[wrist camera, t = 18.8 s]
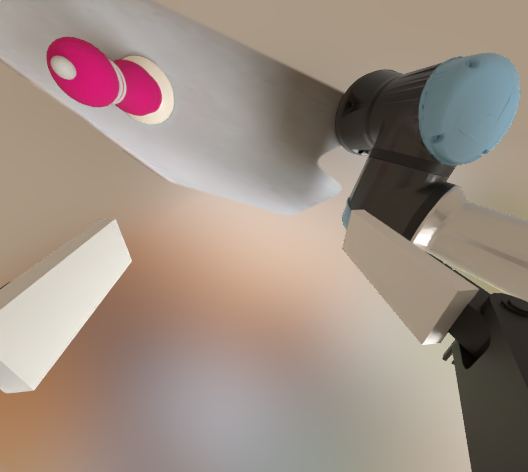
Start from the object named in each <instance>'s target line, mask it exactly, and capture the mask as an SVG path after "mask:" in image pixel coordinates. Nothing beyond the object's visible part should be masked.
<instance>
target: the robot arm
mask: <svg viewBox="0 0 528 472" xmlns="http://www.w3.org/2000/svg"><path fill="white" fill-rule="evenodd" d="M519 82H520V78H519V75H518V72H517V70H516V68H515V66H514V65H513V64H512V62H511V61H510V60H508V59H507V58H506V57H504V56H502V55H499V54H495V53H481V54H476V55H471V56H466V57H457V58H451V59H449V60H447V61H445V62H443V63H440V64H436V65H433V66H430V67H426V68H423V69H420V70H416V71H413V72H410V73H406V74H402V73H398V72H396V71H393V70H378V71H375V72H372V73H369V74H366V75H364V76H363V77H361V78H359V79H358V80H357V81H356V82H354V83H353V84H352V85H351V86H350V87H349V89H348V90H347V91H346V93H345V94H344V96H343V97H342V99H341V101H340V104H339V106H338V109H337V113H336V120H335V128H336V134H337V137H338V140H339V142H340V143H341V145H342V146H343V147H344V148H345V149H346V150H347V151H349V152H351V153H354V154H357V155H363V156H369V157H368V159H367V161H366V163H365V165H364V167H363V169H362V171H361V174H360V176H359V178H358V180H357V183H356V184H355V187H354V189H353V191H352V193H351V195H350V197H349V198H348V200H347V205H346V207H345V210H344V213H343V215H342V221H343V225H344V227H345V228H346V230H347V232H346V236H345V239H344V244H343V248H342V249H343V250H344V252H345V253H346V254H347V255H348V256H349V258H350V259H351V260H352V261H353V262H354V264H355V265H356V266H357V267H358V268H359V269H360V271H361V272H362V273H363V274H364V275H365V277H366V278H367V279H368V280H369V281H370V283H371V284H372V285H373V286H374V288H375V289H376V290H377V291H378V292H379V294H380V295H381V296H382V297H383V298H384V300H385V301H386V302H387V303H388V304H389V305H390V307H391V308H392V309H393V310H394V312H395V313H396V314H397V315H398V316H399V318H400V319H401V320H402V321H403V322H404V324H405V325H406V326H407V327H408V328H409V330H410V331H411V332H412V333H413V334H414V336H415V337H416V338H417V339H418V340H419V342H420V343H421V344H422V345H425V344H433V343H440V342H441V341H442V340H443V338H444V337H445V336H446V334H447V333H448V332H449V333H450V334H451V335H452V336H453V337H454V338H455V341H454V342H453V343H452V344H451V346H450V347H449V348H448V350H447V351H446V352H445V353H444V355H443V360H445V361H446V360H447V359H448V358H449V357H450V356H451V355H453V357H454V360H453V362H452V364H454V365H455V370H456V376H457V382H458V389H459V394H460V401H461V407H462V414H463V420H464V426H465V432H466V438H467V444H468V451H469V457H470V463H471V469H472V472H528V220H525V219H522V218H519V217H516V216H513V215H509V214H506V213H503V212H500V211H497V210H494V209H490V208H487V207H484V206H481V205H477V204H475V203H471V202H469V201H468V200H467V199H466V197H465V194H464V192H463V190H462V187H461V186H458V185H454V184H451V183H447V182H446V181H447V179H448V178H449V176H450V175H451V173H452V172H453V170H454V169H455V167H456V166H457V165H462V164H467V163H471V162H473V161H476V160H477V159H479V158H480V157H482V154H486V153H488V152H489V151H491V150H492V149H493V148H494V147H495V146H496V145H497V144H498V143H499V141H500V140H501V139H502V138H503V137H504V135H505V134H506V132H507V130H508V129H509V127H510V125H511V123H512V121H513V119H514V117H515V114H516V112H517V108H518V105H519V98H520V90H519ZM372 157H373V158H372ZM446 177H447V178H446ZM439 259H440V260H439ZM131 261H132V260H131V258H130V255H129V252H128V250H127V247H126V245H125V242H124V239H123V237H122V234H121V232H120V229H119V227H118V224H117V222H116V219H99V220H98V221H97V222H95V223H94V224H92V225H91V226H90V227H88V228H87V229H85V230H84V231H82V232H81V233H80V234H78V235H77V236H75V237H74V238H72V239H71V240H70V241H68V242H67V243H65V244H64V245H63V246H61V247H60V248H58V249H57V250H55V251H54V252H53V253H51V254H50V255H48V256H47V257H46V258H44V259H43V260H41V261H40V262H38V263H37V264H36V265H34V266H33V267H32V268H30V269H29V270H27V271H26V272H25V273H23V274H21V275H20V276H19V277H17V278H16V279H14V280H13V281H11V282H9V283H7V284H6V285H4V286H3V287H2V288H0V389H1V390H2V391H3V392H5V393H15V392H23V391H32V390H35V388H36V387H37V386H38V384H39V383H40V382H41V380H42V379H43V377H44V376H45V375H46V374H47V373H48V371H49V370H50V368H51V367H52V366H53V365H54V363H55V362H56V361H57V359H58V358H59V357H60V355H61V354H62V353H63V351H64V350H65V349H66V347H67V346H68V345H69V343H70V342H71V341H72V340H73V338H74V337H75V336H76V334H77V333H78V331H79V330H80V329H81V328H82V326H83V325H84V324H85V322H86V321H87V320H88V318H89V317H90V316H91V314H92V313H93V312H94V310H95V309H96V307H97V306H98V305H99V304H100V303H101V301H102V300H103V299H104V297H105V296H106V295H107V293H108V292H109V290H110V289H111V288H112V287H113V285H114V284H115V283H116V281H117V280H118V279H119V277H120V276H121V275H122V273H123V272H124V271H125V270H126V268H127V267H128V266H129V264H130V263H131ZM442 261H443V262H445V263H447V264H449V265H451V266H453V267H456V268H457V269H459V270H461V271H463V272H465V273H467V274H469V275H471V276H473V277H475V278H477V279H479V280H481V281H483V282H485V283H487V284H489V285H491V286H493V287H495V288H497V289H499V290H501V291H503V292H505V293H507V294H509V295H507V294H503V293H493V294H489V293H488V292H486V291H485V290H484V289H482V288H481V287H479V286H478V285H476V284H475V283H473V282H472V281H470V280H469V279H467V278H466V277H464V276H463V275H461V274H460V273H458V272H457V271H456V270H452V268H451V267H450V266H448V265H447V264H443V262H442Z"/></svg>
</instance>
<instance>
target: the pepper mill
mask: <svg viewBox="0 0 528 472" xmlns="http://www.w3.org/2000/svg"><path fill="white" fill-rule="evenodd" d="M47 64H48V68H49V71H50V73H51V75H52V77H53V79H54V80H55V82H56V83H57V85H58V86H59V87H60V88H61V89H62V90H63V91H64V92H65V93H66V94H67V95H68V96H70V97H71V98H73V99H74V100H76V101H78V102H80V103H82V104H85V105H88V106H92V107H104V106H108V105H110V104H115V105H116V106H117V107H119V108H120V109H121V110H123V111H125V112H127V113H129V114H132V115H136V116H144V115H147V114H149V113H153V112H155V111H157V110H158V109H159V107H160V106H161V103H162V93H161V90H160V87H159V85H158V83H157V82H156V81H155V79H154V78H153V77H152V76H150V75H149V73H148V72H147V71H146V70H145V69H144V68H143V67H141V66H140V65H138V64H136V63H134V62H132V61H129V60H124V59H120V60H115V61H111V60H110V59H108V58H107V57H106V56H105V55H104V54H103V53H102V52H101V51H100V50H99V49H98V48H96V47H95V46H93V45H92V44H90V43H88V42H86V41H84V40H81V39H77V38H74V37H62V38H59V39H56V40H55V41H54V42H52V43H51V45H50V46H49V48H48V50H47Z"/></svg>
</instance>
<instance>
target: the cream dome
mask: <svg viewBox="0 0 528 472" xmlns="http://www.w3.org/2000/svg"><path fill="white" fill-rule="evenodd" d="M123 59H124V60H129V61H132V62H134V63H136V64H138V65H140V66H141V67H143V68H144V69H145V70H146V71H147V72H148V73H149V75H150V76H152V77H153V78H154V79H155V81H156V82H157V83H158V85H159V87H160V90H161V93H162V103H161V106H160V107H159V109H158V110H157V111H155V112H153V113H149V114H147V115H144V116H136V115H132V114H129V113H127V112H126V113H127V114H128V115H129V116H131V117H132V118H133V119H135V120H137V121H139V122H141V123H144V124H159V123H162V122H164V121H166V120H167V119H168V118H169V117H170V115H171V114H172V112H173V109H174V104H175V97H174V91H173V88H172V85H171V83H170V80H169V79H168V77H167V76H166V74H165V73H164V72H163V71H162V69H161V68H160V67H158V66H157V65H156V64H155V63H153V62H152V61H150V60H148V59H146V58H144V57H140V56H127V57H125V58H123Z"/></svg>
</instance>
